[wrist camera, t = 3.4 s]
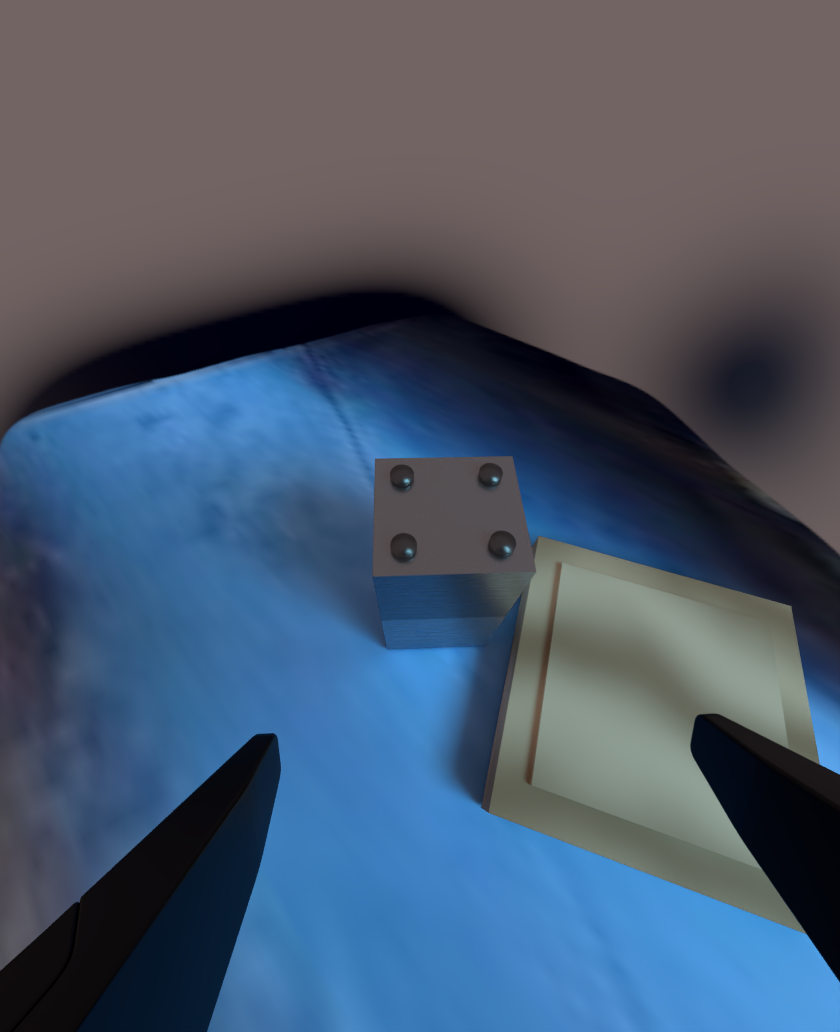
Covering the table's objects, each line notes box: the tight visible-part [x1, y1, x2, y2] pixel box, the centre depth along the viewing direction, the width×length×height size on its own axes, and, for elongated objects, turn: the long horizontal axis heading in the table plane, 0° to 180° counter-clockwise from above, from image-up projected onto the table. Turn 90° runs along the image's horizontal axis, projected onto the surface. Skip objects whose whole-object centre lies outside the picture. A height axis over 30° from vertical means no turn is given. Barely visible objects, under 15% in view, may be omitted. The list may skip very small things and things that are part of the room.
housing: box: [373, 456, 536, 650], centre depth 19 cm, size 5×6×11 cm
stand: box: [481, 536, 820, 934], centre depth 20 cm, size 14×14×2 cm
